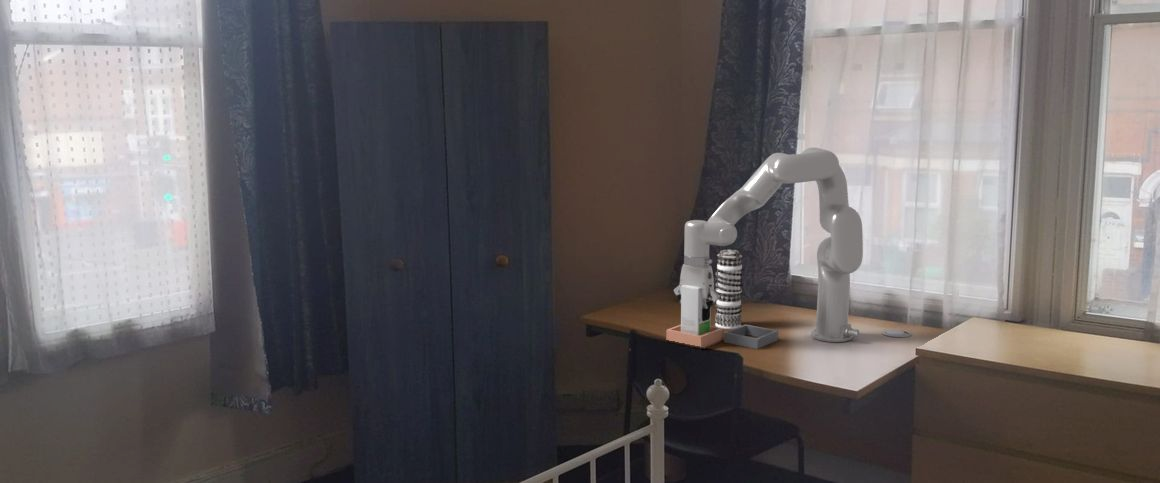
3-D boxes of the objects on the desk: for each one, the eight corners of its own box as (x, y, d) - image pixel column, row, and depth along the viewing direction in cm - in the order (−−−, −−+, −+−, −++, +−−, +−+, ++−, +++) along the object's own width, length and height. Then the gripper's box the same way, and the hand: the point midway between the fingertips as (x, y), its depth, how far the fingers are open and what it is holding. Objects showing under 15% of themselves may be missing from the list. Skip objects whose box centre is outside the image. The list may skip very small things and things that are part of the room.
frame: (777, 340, 286) (778, 330, 285) (757, 349, 276) (757, 339, 276) (745, 333, 293) (745, 324, 293) (723, 342, 284) (724, 332, 283)
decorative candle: (741, 330, 297) (743, 253, 293) (712, 328, 299) (714, 252, 295) (743, 322, 306) (745, 248, 302) (715, 321, 308) (716, 247, 304)
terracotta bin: (723, 340, 285) (723, 328, 284) (700, 349, 276) (701, 336, 275) (689, 333, 293) (689, 321, 293) (666, 342, 284) (666, 329, 283)
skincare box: (697, 338, 279) (698, 288, 276) (678, 335, 283) (679, 285, 280) (711, 332, 285) (712, 283, 283) (692, 329, 289) (693, 280, 287)
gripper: (727, 262, 277) (726, 320, 280) (680, 255, 288) (679, 311, 292) (714, 266, 272) (713, 325, 275) (666, 259, 283) (665, 316, 286)
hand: (695, 317), depth 283 cm, fingers closed on skincare box, 6 cm apart
